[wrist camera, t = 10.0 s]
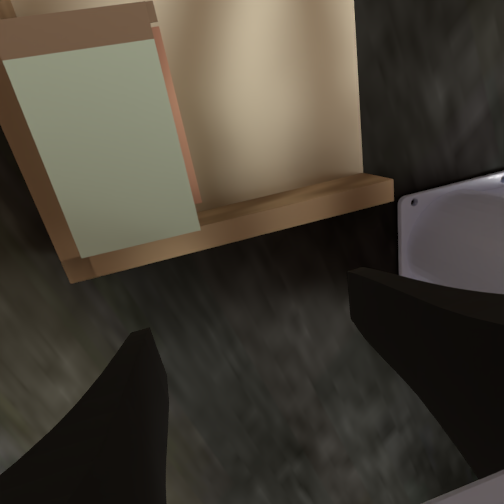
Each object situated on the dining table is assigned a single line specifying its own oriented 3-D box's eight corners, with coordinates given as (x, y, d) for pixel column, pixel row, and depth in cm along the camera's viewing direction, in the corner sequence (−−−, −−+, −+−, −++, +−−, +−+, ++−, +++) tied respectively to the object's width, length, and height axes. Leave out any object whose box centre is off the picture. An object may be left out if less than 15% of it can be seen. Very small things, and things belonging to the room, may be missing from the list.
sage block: (191, 200, 18) (200, 230, 13) (108, 219, 18) (81, 258, 12) (152, 46, 16) (145, 1, 10) (52, 61, 15) (-14, 21, 10)
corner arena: (338, -180, 15) (384, -264, 12) (360, 190, 21) (394, 201, 18) (-80, -154, 12) (-166, -252, 9) (87, 257, 19) (70, 283, 16)
